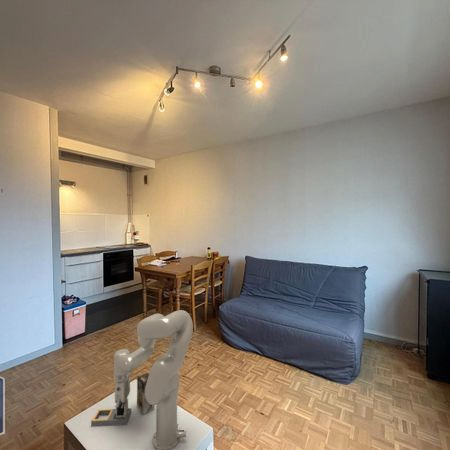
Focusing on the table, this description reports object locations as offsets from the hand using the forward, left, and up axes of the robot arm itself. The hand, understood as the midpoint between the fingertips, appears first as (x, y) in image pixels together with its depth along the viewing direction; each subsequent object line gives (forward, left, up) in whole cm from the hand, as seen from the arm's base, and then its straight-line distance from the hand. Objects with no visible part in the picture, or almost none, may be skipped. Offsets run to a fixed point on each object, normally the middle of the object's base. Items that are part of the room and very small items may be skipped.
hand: (122, 411), depth 125 cm
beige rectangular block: (0, 0, -3) cm, 3 cm away
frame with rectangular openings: (+5, 0, -4) cm, 7 cm away
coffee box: (-10, -8, -5) cm, 13 cm away
